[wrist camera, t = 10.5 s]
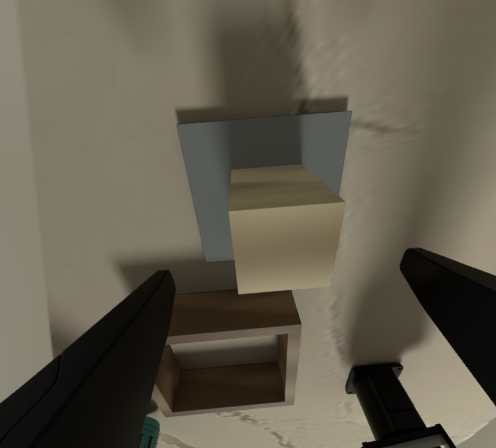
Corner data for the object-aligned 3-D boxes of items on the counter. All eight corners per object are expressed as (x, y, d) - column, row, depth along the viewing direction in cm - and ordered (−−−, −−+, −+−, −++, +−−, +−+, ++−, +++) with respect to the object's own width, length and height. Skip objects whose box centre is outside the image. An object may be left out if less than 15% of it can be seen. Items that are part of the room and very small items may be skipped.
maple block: (298, 225, 15) (329, 286, 10) (237, 230, 15) (238, 294, 10) (301, 164, 13) (345, 202, 8) (231, 169, 13) (228, 211, 8)
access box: (286, 365, 26) (293, 404, 23) (174, 375, 26) (165, 417, 23) (289, 285, 19) (301, 324, 16) (137, 298, 19) (116, 341, 16)
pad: (326, 247, 17) (329, 251, 17) (206, 257, 17) (206, 262, 17) (347, 110, 12) (352, 111, 12) (179, 123, 12) (176, 124, 12)
